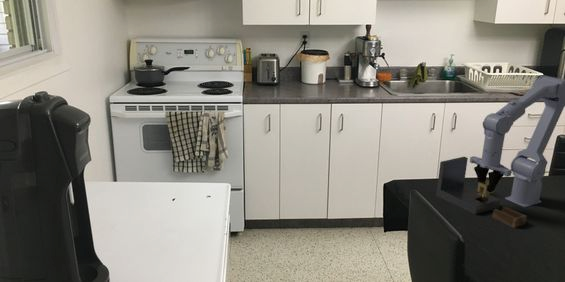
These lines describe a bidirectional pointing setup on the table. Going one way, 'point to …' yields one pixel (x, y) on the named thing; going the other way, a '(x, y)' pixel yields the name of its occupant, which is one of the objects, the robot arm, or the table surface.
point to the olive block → (484, 189)
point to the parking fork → (509, 217)
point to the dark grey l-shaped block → (461, 188)
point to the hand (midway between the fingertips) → (486, 189)
